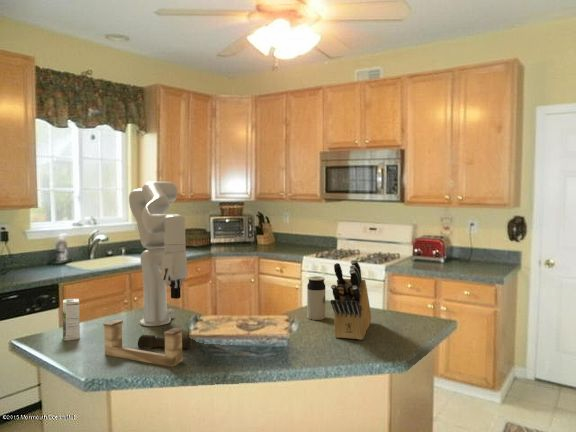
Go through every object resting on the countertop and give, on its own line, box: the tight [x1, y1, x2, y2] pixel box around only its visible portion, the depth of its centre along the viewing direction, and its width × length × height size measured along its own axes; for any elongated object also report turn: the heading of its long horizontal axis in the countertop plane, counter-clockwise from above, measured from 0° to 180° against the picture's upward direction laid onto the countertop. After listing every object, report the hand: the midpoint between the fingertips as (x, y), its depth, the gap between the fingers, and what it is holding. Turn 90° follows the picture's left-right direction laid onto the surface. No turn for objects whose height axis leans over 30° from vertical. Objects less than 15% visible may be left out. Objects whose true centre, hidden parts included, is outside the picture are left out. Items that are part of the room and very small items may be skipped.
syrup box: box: [62, 298, 81, 342], centre depth 171 cm, size 6×6×14 cm
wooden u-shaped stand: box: [103, 319, 184, 368], centre depth 151 cm, size 5×28×11 cm, turn 68°
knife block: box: [330, 259, 372, 341], centre depth 178 cm, size 11×35×31 cm, turn 162°
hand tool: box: [137, 334, 192, 351], centre depth 162 cm, size 19×4×5 cm, turn 84°
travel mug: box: [306, 275, 326, 321], centre depth 199 cm, size 8×8×18 cm
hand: (175, 297), depth 167 cm, fingers closed
